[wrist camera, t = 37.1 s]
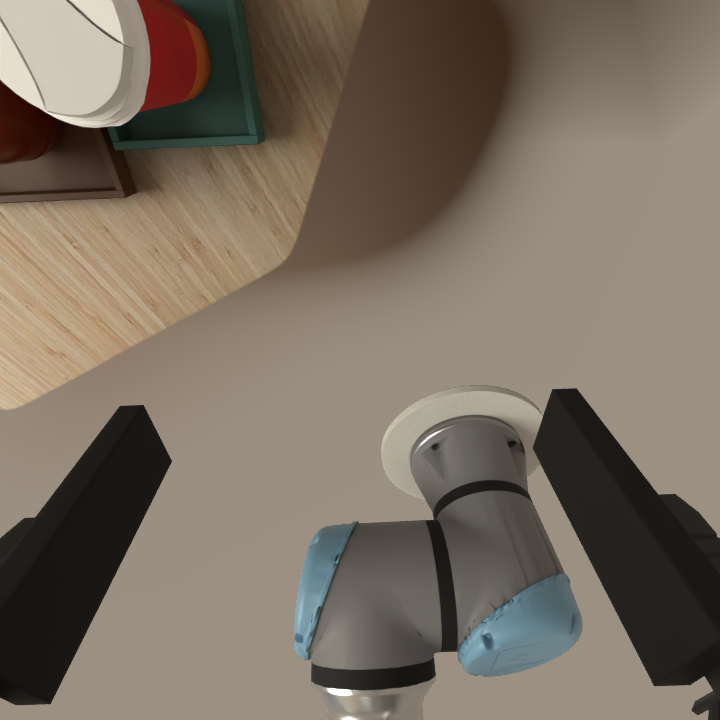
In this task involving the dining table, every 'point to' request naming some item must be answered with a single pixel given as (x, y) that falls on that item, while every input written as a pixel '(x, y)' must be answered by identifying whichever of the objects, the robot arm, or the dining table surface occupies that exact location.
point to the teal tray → (206, 91)
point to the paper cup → (101, 57)
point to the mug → (25, 129)
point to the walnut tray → (70, 170)
